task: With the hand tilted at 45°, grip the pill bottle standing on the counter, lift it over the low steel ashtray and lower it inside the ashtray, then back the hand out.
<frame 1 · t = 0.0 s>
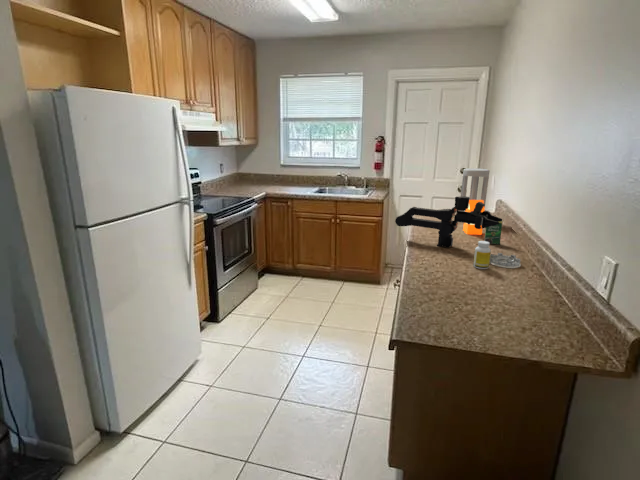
hand: (500, 221, 188), 17 cm above the table, tool horizontal, fingers open, 9 cm apart
coffee box: (491, 243, 212), on the table
steel ashtray: (504, 263, 179), on the table
pill bottle: (480, 267, 174), on the table
stool: (470, 221, 264), on the table
orange juice: (472, 233, 234), on the table
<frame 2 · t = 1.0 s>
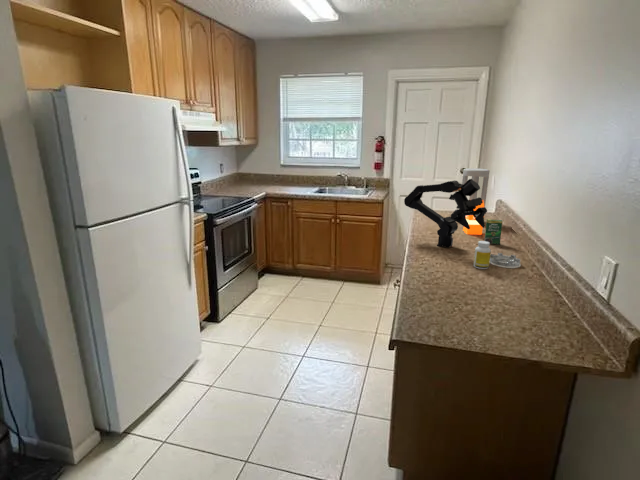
hand: (476, 228, 187), 14 cm above the table, tool tilted 45°, fingers open, 9 cm apart
nothing on the table moved.
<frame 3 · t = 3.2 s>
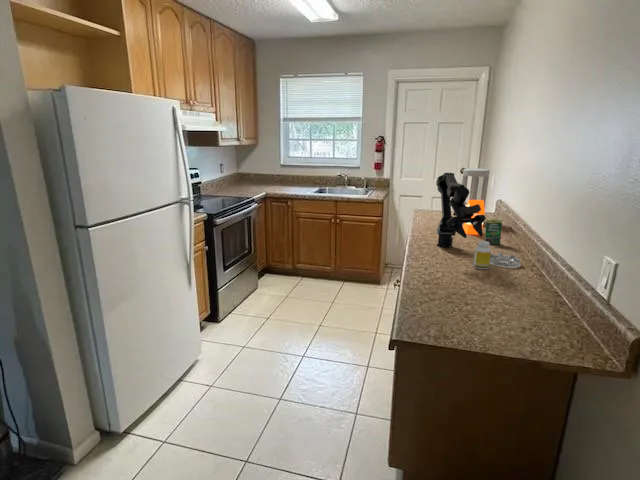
hand: (473, 236, 176), 12 cm above the table, tool tilted 45°, fingers open, 9 cm apart
nothing on the table moved.
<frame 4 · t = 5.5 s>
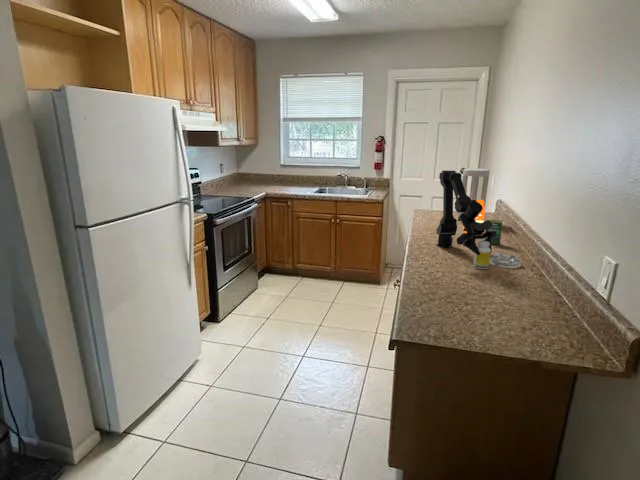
hand: (485, 253, 171), 7 cm above the table, tool tilted 45°, fingers closed on pill bottle, 6 cm apart
pill bottle: (480, 267, 174), on the table, touching gripper
everything else where it was.
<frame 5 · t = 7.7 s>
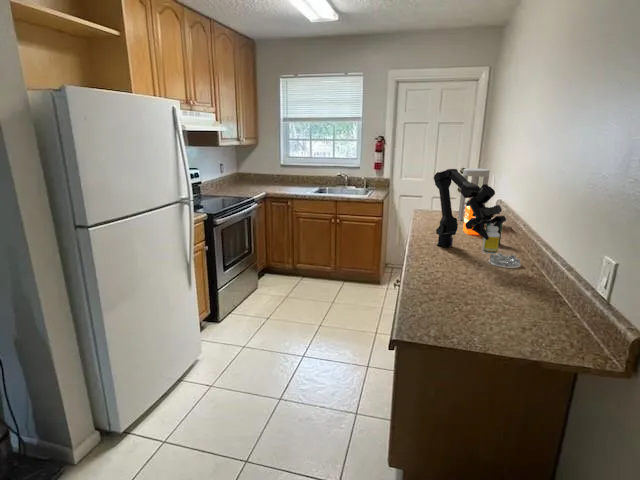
hand: (493, 238, 171), 13 cm above the table, tool tilted 45°, fingers closed on pill bottle, 6 cm apart
pill bottle: (489, 252, 174), point 6 cm above the table, touching gripper
everything else where it was.
when the fingers open (8 cm above the table, at t = 10.2 s): pill bottle drops 1 cm, resting on steel ashtray.
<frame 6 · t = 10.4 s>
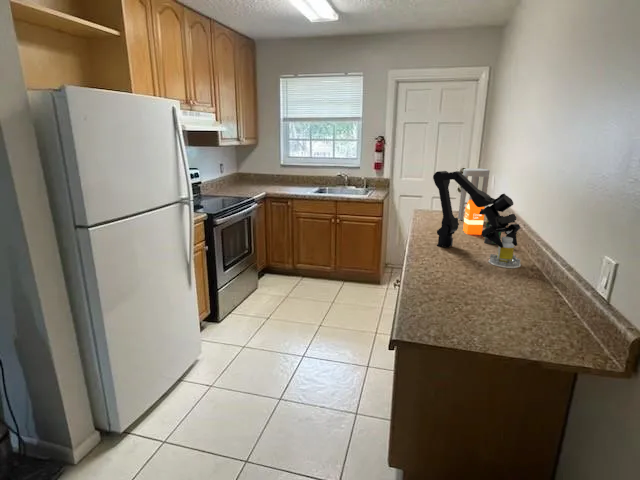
hand: (509, 246, 176), 9 cm above the table, tool tilted 45°, fingers open, 8 cm apart
pill bottle: (503, 262, 179), resting on steel ashtray
everything else where it was.
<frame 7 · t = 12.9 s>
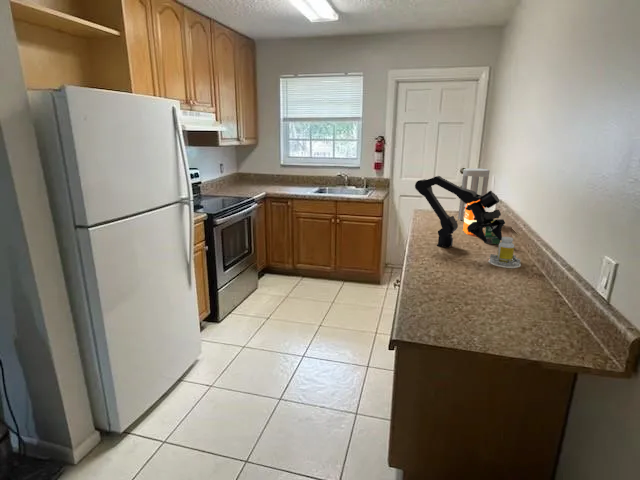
hand: (493, 241, 184), 9 cm above the table, tool tilted 45°, fingers open, 9 cm apart
nothing on the table moved.
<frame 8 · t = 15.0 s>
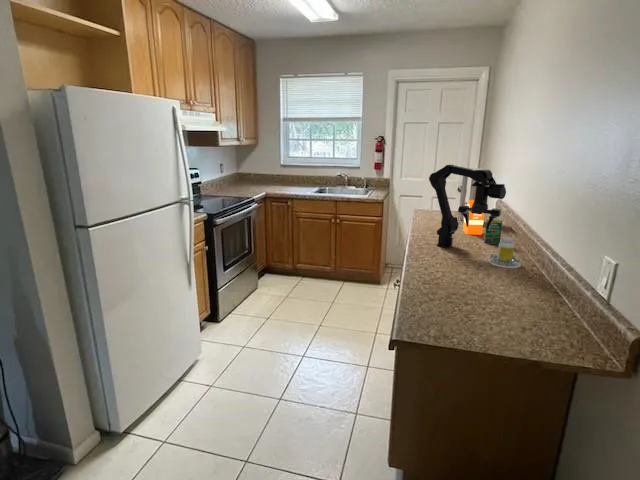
hand: (477, 228, 190), 13 cm above the table, tool pointing down, fingers open, 9 cm apart
nothing on the table moved.
at the end: pill bottle 0.2 cm off-centre on the steel ashtray, point 0.3 cm above the steel ashtray's base; pill bottle tilted 0°; the gripper is holding nothing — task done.
